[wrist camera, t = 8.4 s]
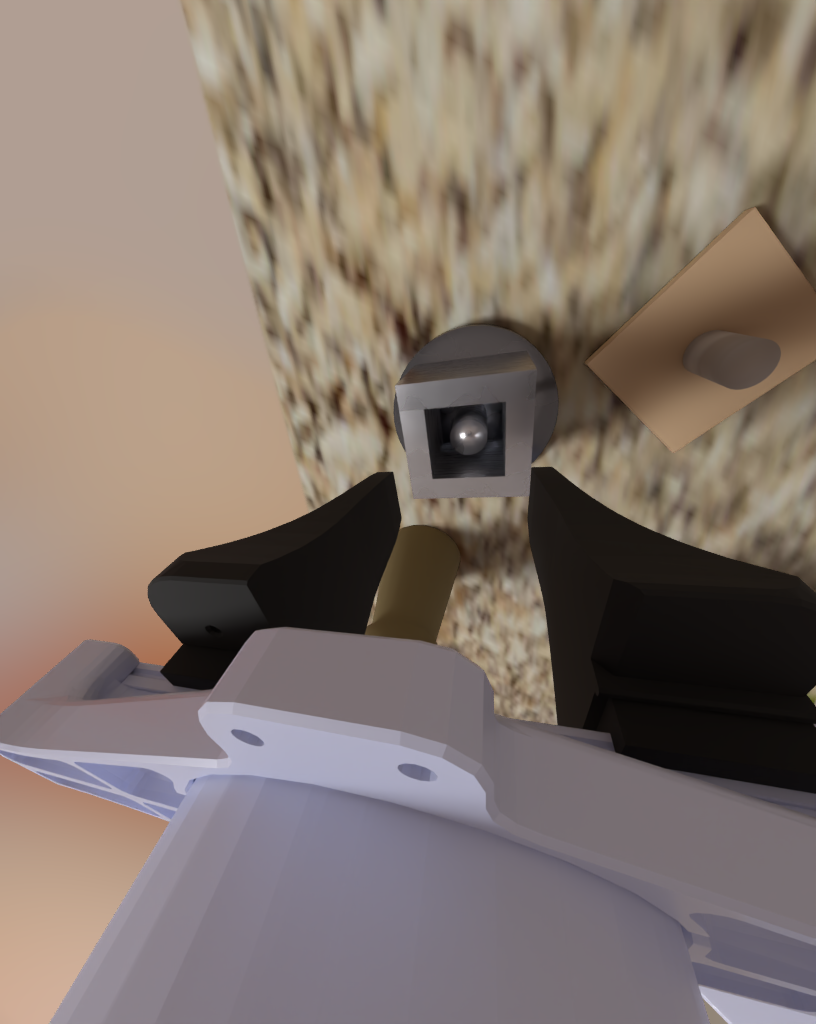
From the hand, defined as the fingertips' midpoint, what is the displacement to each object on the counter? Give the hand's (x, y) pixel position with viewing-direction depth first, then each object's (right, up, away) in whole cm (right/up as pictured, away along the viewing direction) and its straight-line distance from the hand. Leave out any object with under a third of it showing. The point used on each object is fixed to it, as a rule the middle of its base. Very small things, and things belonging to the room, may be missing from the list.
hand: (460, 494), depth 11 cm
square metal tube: (+2, +5, +7) cm, 8 cm away
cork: (-1, -4, +15) cm, 15 cm away
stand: (+12, +7, +4) cm, 14 cm away
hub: (+2, +5, +8) cm, 9 cm away
